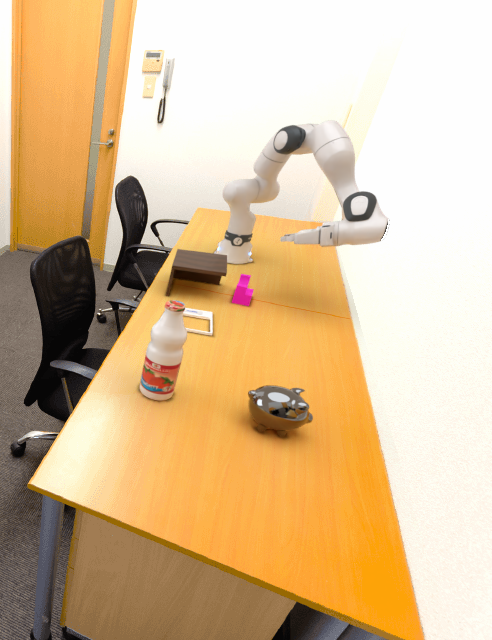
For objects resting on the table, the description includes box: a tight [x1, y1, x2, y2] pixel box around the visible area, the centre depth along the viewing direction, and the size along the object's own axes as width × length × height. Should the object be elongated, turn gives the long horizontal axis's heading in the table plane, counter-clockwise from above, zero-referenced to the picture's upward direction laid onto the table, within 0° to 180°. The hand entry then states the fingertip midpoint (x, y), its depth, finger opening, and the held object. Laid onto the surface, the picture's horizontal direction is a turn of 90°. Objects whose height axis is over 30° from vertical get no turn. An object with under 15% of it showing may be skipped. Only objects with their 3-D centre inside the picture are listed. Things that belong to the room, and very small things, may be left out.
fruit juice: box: [139, 299, 188, 401], centre depth 116 cm, size 9×9×28 cm
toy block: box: [231, 273, 255, 307], centre depth 175 cm, size 15×6×8 cm, turn 148°
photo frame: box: [183, 307, 214, 336], centre depth 159 cm, size 15×1×18 cm
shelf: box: [165, 248, 228, 297], centre depth 181 cm, size 23×20×14 cm
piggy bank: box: [247, 384, 314, 437], centre depth 107 cm, size 11×15×12 cm
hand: (282, 238), depth 162 cm, fingers open, 8 cm apart
